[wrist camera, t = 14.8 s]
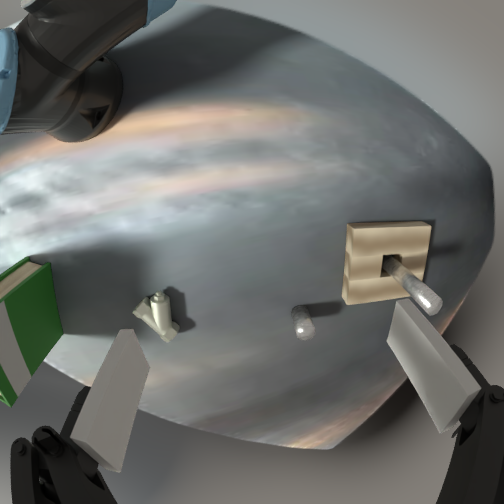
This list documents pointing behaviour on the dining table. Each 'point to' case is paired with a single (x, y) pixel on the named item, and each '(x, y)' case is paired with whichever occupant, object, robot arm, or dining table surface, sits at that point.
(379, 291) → the hole plate
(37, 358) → the hardback book
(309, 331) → the short pin
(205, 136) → the dining table surface
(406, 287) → the long pin
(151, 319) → the pipe fitting
